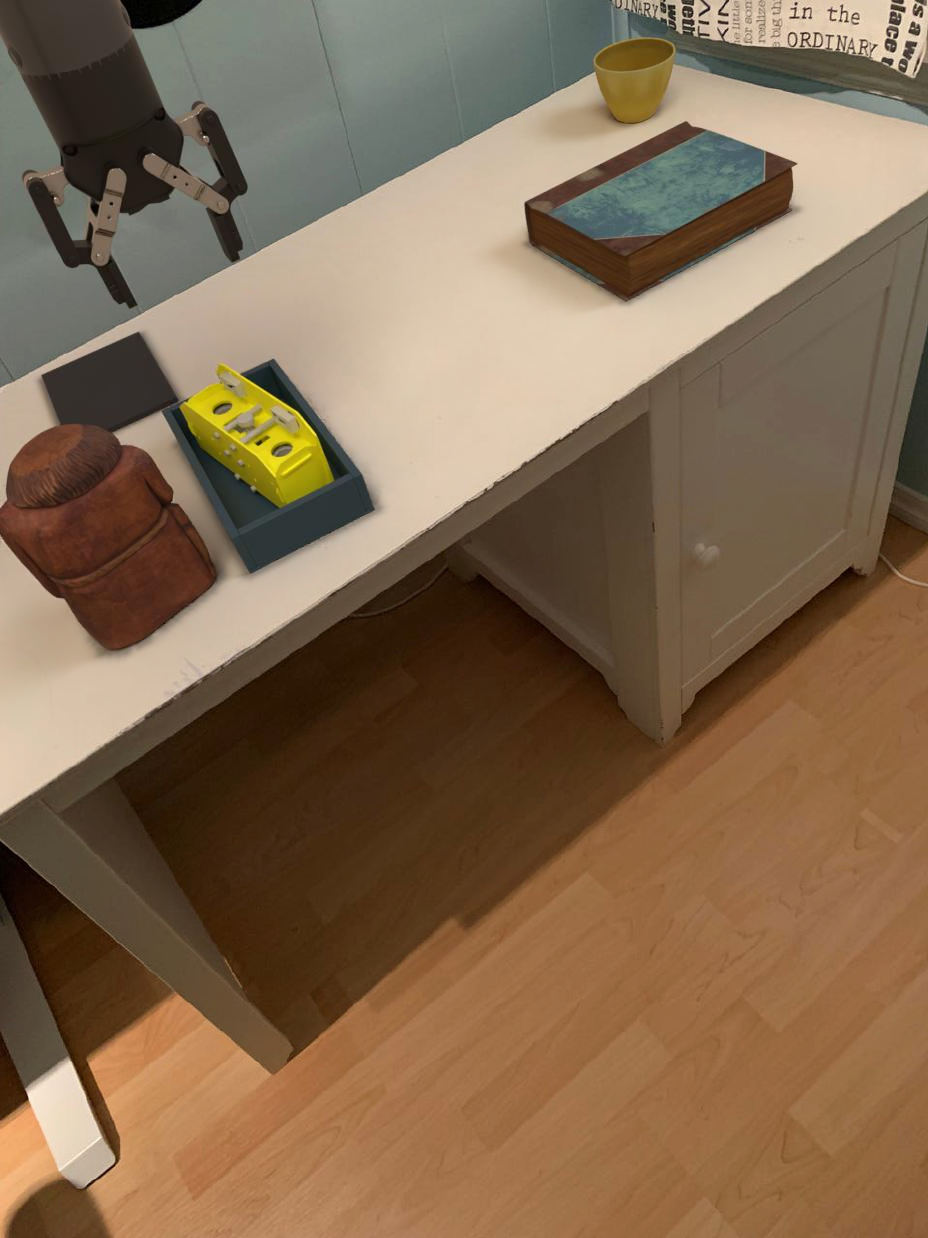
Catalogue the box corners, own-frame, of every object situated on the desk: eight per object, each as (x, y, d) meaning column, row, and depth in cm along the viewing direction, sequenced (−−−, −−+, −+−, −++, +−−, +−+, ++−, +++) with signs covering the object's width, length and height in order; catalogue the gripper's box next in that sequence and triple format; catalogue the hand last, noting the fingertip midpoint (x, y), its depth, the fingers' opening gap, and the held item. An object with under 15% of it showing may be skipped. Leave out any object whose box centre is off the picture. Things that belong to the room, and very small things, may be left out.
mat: (71, 450, 90) (68, 446, 90) (43, 378, 100) (40, 374, 100) (178, 401, 93) (176, 396, 92) (140, 335, 102) (138, 331, 102)
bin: (250, 573, 75) (230, 539, 71) (179, 444, 88) (160, 410, 84) (374, 509, 77) (361, 473, 73) (288, 392, 90) (273, 357, 87)
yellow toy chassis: (343, 490, 79) (315, 417, 72) (294, 527, 77) (260, 455, 70) (248, 423, 87) (215, 353, 81) (201, 455, 86) (164, 385, 79)
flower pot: (684, 120, 112) (685, 58, 106) (606, 139, 112) (603, 78, 107) (662, 90, 118) (662, 30, 112) (589, 108, 118) (585, 49, 113)
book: (683, 163, 105) (684, 119, 101) (794, 210, 94) (800, 163, 90) (528, 243, 100) (523, 200, 96) (627, 302, 89) (626, 256, 85)
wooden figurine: (191, 547, 78) (90, 381, 64) (230, 580, 74) (131, 412, 61) (78, 630, 74) (-57, 472, 60) (113, 669, 71) (-21, 511, 57)
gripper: (161, -7, 58) (249, 226, 71) (-46, 70, 56) (84, 298, 68) (195, 16, 54) (283, 261, 66) (-29, 101, 51) (107, 340, 64)
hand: (182, 280), depth 67 cm, fingers open, 8 cm apart
